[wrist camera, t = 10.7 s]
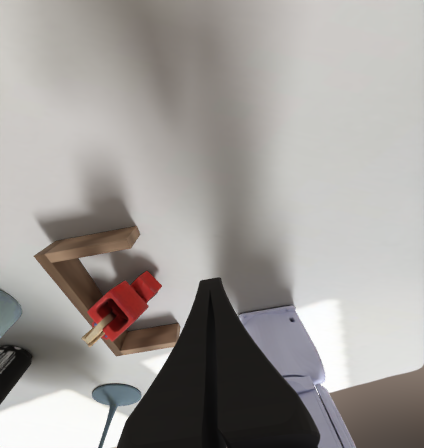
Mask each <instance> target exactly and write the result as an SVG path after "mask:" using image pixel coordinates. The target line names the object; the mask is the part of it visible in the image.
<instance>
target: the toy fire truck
mask: <svg viewBox="0 0 424 448" xmlns="http://www.w3.org/2000/svg"><path fill="white" fill-rule="evenodd" d="M161 287H162V285H161V284H160V283H159V282H158V281H157V280H156V279H155V278H154V277H153V276H152V275H151V274H150V273H149V272H148V271H145V272H144V273H143V274H141V275H140V276H139V277H138V278H137V279H136V280H135V281H134V282H133V283H132V284H131V285H129V284H128V282H126V281H123V282H122V283H120V284H118V285H117V286H115V287H114V288H112V289H111V290H109V291H108V292H107V293H106V294H105V295H104V296H103V297H102V298H101V299H100V300H99V301H98V302H96V303H95V305H93V306H92V307H91V308H90V309H89V310H88V311H87V313H88V314H89V316H90V317H91V318H92V319H93V320H94V321H93V322H92V327H93V328H92V329H91V330H90V331H89V332H88V333H87V334H85V335H84V336H83V337H82V340H84V341H85V342H86V343H87V344H88V346H89V347H91V346H92V345H93V344H94V343H95V342H96V341H97V340H98V339H99V338H103V339H106V340H108V339H110V340H111V341H112V342H113V341H114V340H115V339H116V338H117V337H118V336H119V335H121V334H122V333H123V332H124V331H125V330H126V329H127V328H128V327H129V326H130V325H131V324H132V323H133V322H135V321H136V320H137V319H138V317H139V316H140V315H141V314H142V313H143V312H144V311H145V310H146V309H147V308H148V305H147V302H148V301H149V300H150V299H152V298H153V297H154V296H155V295H156V294H157V292H158V290H159V289H160V288H161Z"/></svg>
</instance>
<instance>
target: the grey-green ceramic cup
mask: <svg viewBox="0 0 424 448" xmlns="http://www.w3.org/2000/svg"><path fill="white" fill-rule="evenodd" d="M21 314H22V310H21V306H20V304H18V302H17V301H16V300H15V299H14V298H13V297H11V296H10V295H8V294H7V293H5V292H3V291H1V290H0V338H1V337H2V336H3V335H4V334H5V333H6V332H7V330H8V329H9V328H10V327H11V326H12V325H13V324H14V323H15V322H16V321H17V320H18V318H19V317H20V316H21Z"/></svg>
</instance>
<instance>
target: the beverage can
mask: <svg viewBox="0 0 424 448" xmlns="http://www.w3.org/2000/svg"><path fill="white" fill-rule="evenodd" d="M31 358H32V356H31V354H30V353H29V352H28V351H26V350H24V349H22V348H19V347H15V346H1V347H0V404H1V403H2V401H3V400H4V399H5V398H6V396H7V395H8V394H9V392H10V391H11V390H12V388H13V387H14V386H15V384H16V383H17V382H18V380H19V379H20V378H21V377H22V375H23V374H24V373H25V371H26V370H27V369H28V367H29V366H30V365H31Z"/></svg>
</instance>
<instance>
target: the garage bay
mask: <svg viewBox="0 0 424 448" xmlns="http://www.w3.org/2000/svg"><path fill="white" fill-rule="evenodd" d="M139 235H140V233H139V231H138V228H137V226H134V227H128V228H123V229H118V230H112V231H107V232H101V233H96V234H91V235H85V236H80V237H74V238H69V239H64V240H58V241H55V242H53V243H52V244H50V245H49V246H48V247H46V248H45V249H43V250H42V251H40V252H39V253H37V254H36V255H34V257H35V258H36V260H37V261H38V262H39V263H40V264H41V266H42V267H43V268H44V269H45V271H46V272H47V273H48V274H49V275H50V277H51V278H52V279H53V280H54V281H55V283H56V284H57V285H58V286H59V288H60V289H61V290H62V291H63V292H64V294H65V295H66V296H67V297H68V298H69V300H70V301H71V302H72V303H73V304H74V306H75V307H76V308H77V309H78V311H79V312H80V313H81V314H82V315H83V317H84V318H85V319H86V320H87V321H88V323H89V324H90V325H91V326H92V322H93V321H94V320H93V319H92V318H91V317H90V316H89V314H88V313H87V311H88V310H89V309H90V308H91V307H92V306H93V305H95V303H96V302H98V301H99V300H100V299H101V298H102V297H103V294H102V293H101V291H100V290H99V289H98V287H97V286H96V284H95V283H94V281H93V280H92V278H91V277H90V275H89V274H88V272H87V271H86V269H85V268H84V266H83V265H82V263H81V262H80V261H79V259H78V258H81V257H86V256H92V255H97V254H103V253H108V252H114V251H119V250H125V249H130V248H132V246H133V245H134V243H135V242H136V240H137V239H138V237H139ZM92 328H93V327H92ZM179 333H180V326H179V323H176V324H170V325H164V326H158V327H152V328H146V329H140V330H134V331H127V330H125V331H124V332H123V333H122V334H121V335H119V336H118V337H117V338H116V339H115V340H114V341H113V342H112V341H111V340H110V339H108V340H106V339H103V338H102V340H103V341H104V342H105V343H106V345H107V346H108V347H109V348H110V349H111V351H112V352H113V353H114V354H115V355H116V356H121V355H127V354H133V353H139V352H145V351H151V350H157V349H163V348H169V347H174V346H175V344H176V342H177V340H178V338H179Z"/></svg>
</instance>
